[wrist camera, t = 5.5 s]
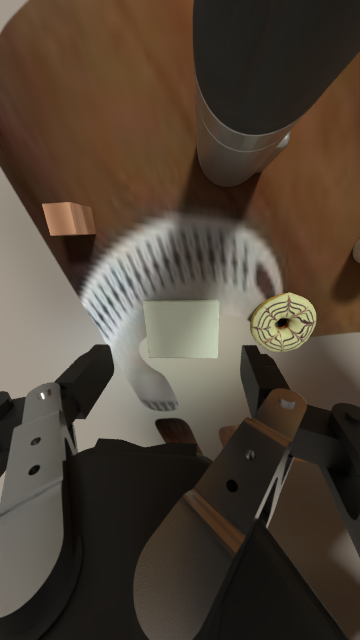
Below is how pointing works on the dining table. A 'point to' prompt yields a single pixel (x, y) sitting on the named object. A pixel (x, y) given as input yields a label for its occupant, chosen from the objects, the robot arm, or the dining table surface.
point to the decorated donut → (294, 329)
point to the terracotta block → (69, 219)
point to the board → (182, 328)
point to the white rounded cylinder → (356, 251)
